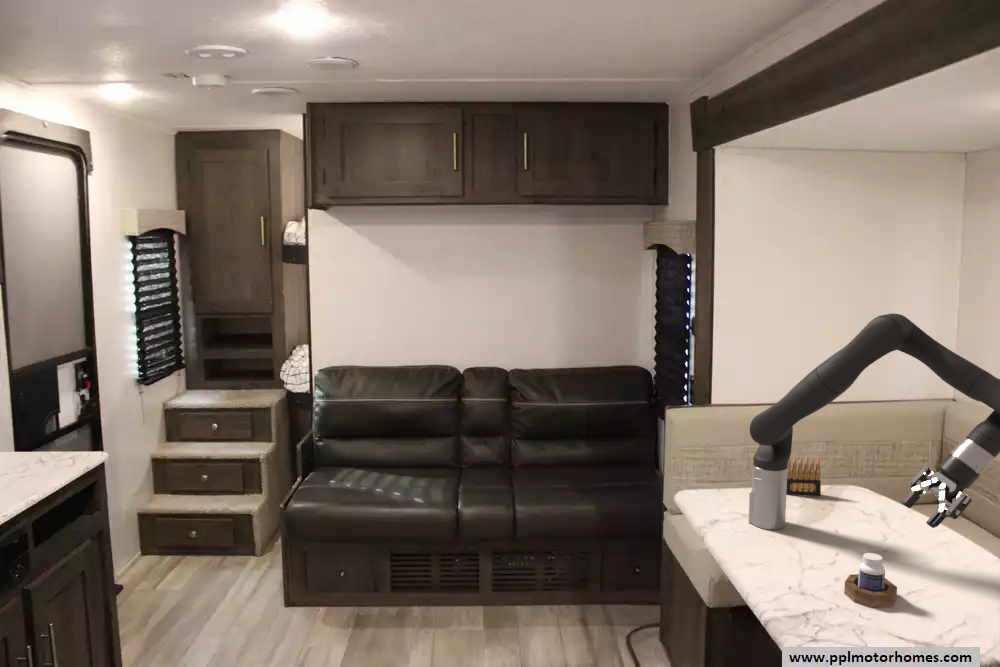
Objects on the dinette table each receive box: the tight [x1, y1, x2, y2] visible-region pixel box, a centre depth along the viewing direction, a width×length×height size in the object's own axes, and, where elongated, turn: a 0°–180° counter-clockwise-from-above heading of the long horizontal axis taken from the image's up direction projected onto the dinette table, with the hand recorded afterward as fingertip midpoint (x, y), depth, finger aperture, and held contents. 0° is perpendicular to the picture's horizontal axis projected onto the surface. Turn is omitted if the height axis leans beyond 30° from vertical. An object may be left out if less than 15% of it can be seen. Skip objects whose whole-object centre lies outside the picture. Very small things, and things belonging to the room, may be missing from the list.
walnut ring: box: [843, 573, 898, 609], centre depth 178 cm, size 10×10×3 cm
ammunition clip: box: [786, 457, 822, 497], centre depth 243 cm, size 11×2×12 cm, turn 81°
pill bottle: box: [858, 552, 886, 592], centre depth 178 cm, size 5×5×10 cm
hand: (917, 515), depth 179 cm, fingers open, 8 cm apart
